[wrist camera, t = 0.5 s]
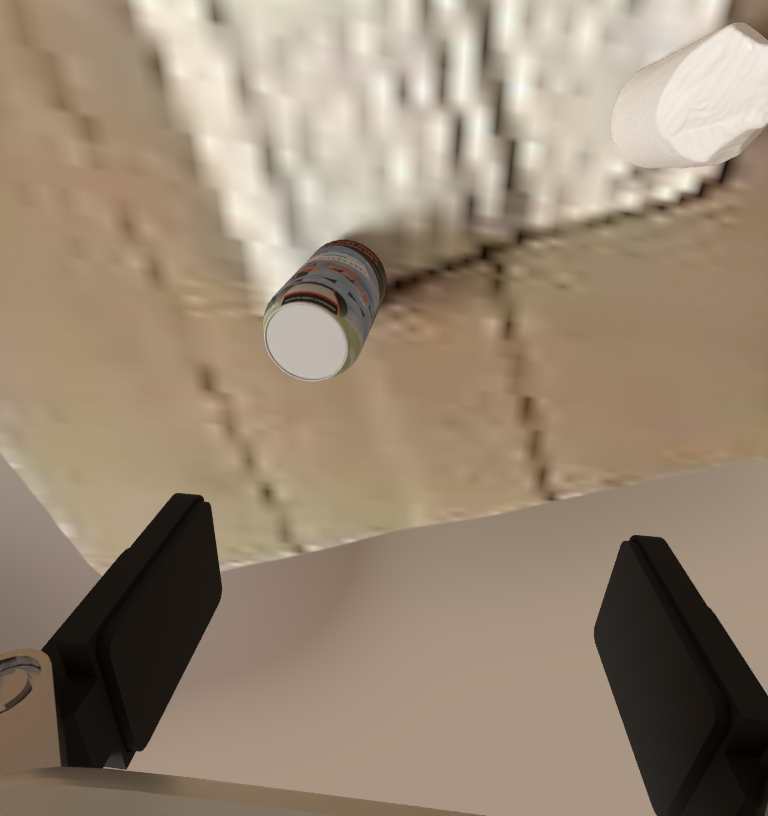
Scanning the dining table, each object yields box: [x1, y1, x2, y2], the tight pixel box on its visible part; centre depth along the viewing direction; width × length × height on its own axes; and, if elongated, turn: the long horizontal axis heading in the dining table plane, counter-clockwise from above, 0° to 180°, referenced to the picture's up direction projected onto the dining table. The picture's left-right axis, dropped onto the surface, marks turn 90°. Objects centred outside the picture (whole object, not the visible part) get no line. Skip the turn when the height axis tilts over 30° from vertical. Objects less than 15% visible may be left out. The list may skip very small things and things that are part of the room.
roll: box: [611, 23, 768, 168], centre depth 26 cm, size 6×12×6 cm
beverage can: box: [263, 240, 386, 381], centre depth 32 cm, size 6×7×12 cm
